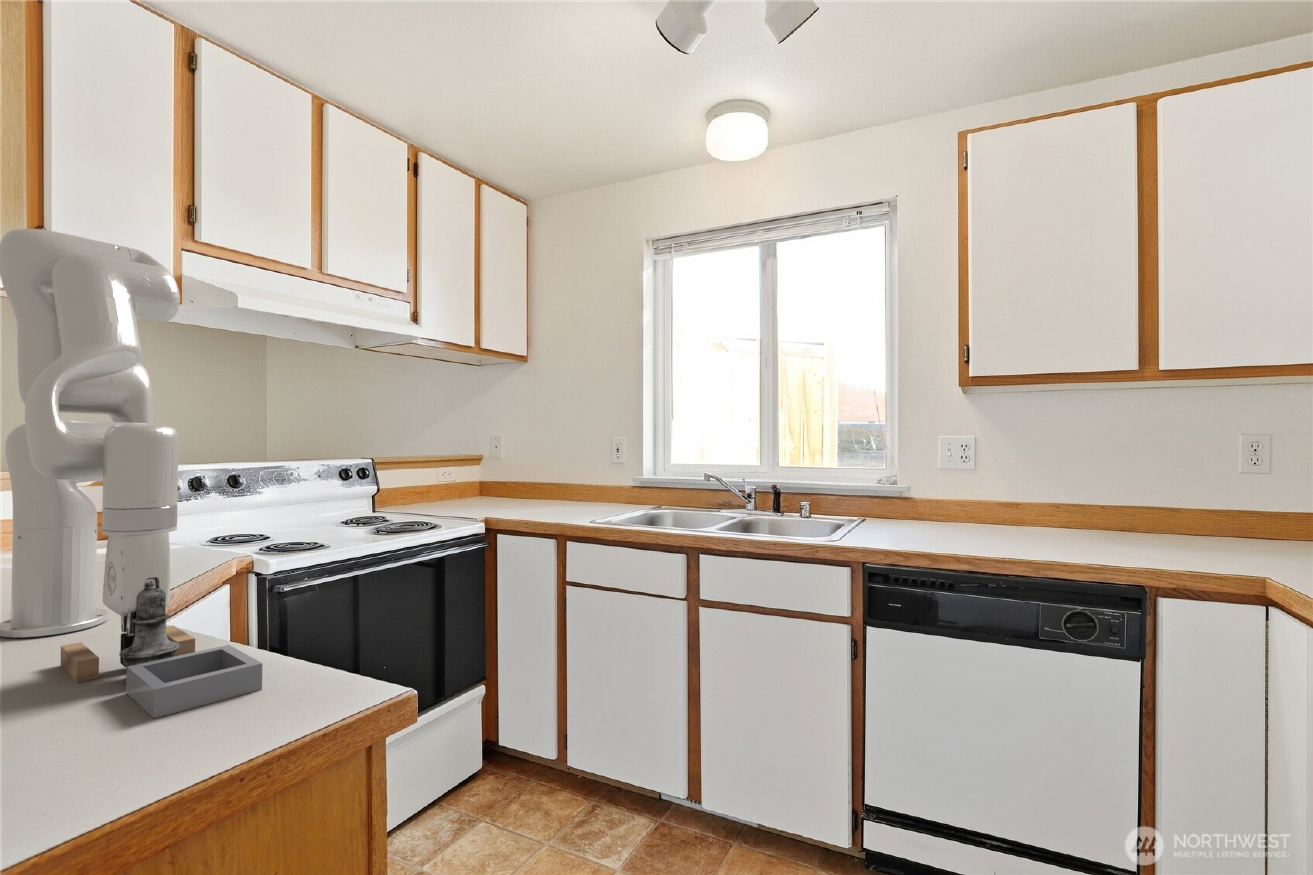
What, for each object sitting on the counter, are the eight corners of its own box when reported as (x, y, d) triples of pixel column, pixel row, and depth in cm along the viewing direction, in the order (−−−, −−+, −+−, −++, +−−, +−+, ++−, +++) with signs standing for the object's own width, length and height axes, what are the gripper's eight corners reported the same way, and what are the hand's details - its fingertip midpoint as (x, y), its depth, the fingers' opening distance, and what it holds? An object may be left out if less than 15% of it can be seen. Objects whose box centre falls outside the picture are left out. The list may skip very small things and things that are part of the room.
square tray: (126, 693, 74) (126, 666, 74) (228, 668, 82) (228, 644, 82) (154, 718, 68) (154, 689, 68) (261, 689, 76) (262, 663, 76)
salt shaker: (145, 689, 75) (147, 587, 76) (105, 684, 77) (107, 584, 77) (191, 671, 81) (193, 577, 81) (153, 667, 82) (155, 574, 82)
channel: (60, 665, 83) (60, 646, 83) (172, 642, 92) (173, 625, 92) (77, 682, 77) (77, 661, 77) (194, 656, 87) (195, 638, 87)
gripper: (87, 517, 84) (84, 657, 84) (119, 529, 75) (116, 686, 75) (158, 512, 90) (155, 643, 90) (195, 523, 81) (192, 669, 81)
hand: (137, 662), depth 82 cm, fingers closed
